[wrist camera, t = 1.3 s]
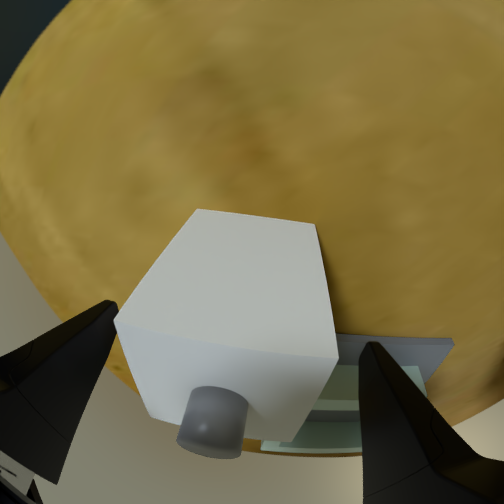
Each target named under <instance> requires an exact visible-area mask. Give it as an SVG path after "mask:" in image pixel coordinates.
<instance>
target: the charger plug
mask: <svg viewBox="0 0 504 504" xmlns="http://www.w3.org/2000/svg"><path fill="white" fill-rule="evenodd" d="M114 324H115V327H116V330H117V333H118V336H119V339H120V342H121V345H122V348H123V351H124V354H125V357H126V359H127V362H128V365H129V368H130V370H131V373H132V375H133V378H134V380H135V383H136V385H137V388H138V390H139V392H140V395H141V397H142V399H143V402H144V404H145V406H146V408H147V410H148V413H149V415H150V416H151V417H152V418H155V419H159V420H162V421H166V422H170V423H174V424H177V425H181V426H180V429H179V433H178V436H177V440H176V441H177V443H178V444H179V445H180V446H181V447H183V448H184V449H186V450H188V451H190V452H193V453H195V454H198V455H202V456H206V457H210V458H218V459H233V458H237V457H239V456H240V455H241V450H242V444H243V438H250V439H258V440H268V441H279V442H292V440H293V439H294V437H295V435H296V434H297V432H298V431H299V429H300V428H301V426H302V424H303V423H304V421H305V419H306V418H307V416H308V414H309V413H310V411H311V409H312V408H313V406H314V404H315V402H316V401H317V399H318V397H319V395H320V394H321V392H322V390H323V388H324V386H325V384H326V383H327V381H328V379H329V377H330V375H331V373H332V371H333V369H334V367H335V365H336V363H337V361H338V359H339V356H338V348H337V341H336V335H335V328H334V322H333V315H332V309H331V304H330V298H329V292H328V287H327V281H326V276H325V271H324V266H323V261H322V256H321V251H320V246H319V242H318V237H317V232H316V228H315V224H309V223H302V222H296V221H289V220H282V219H275V218H267V217H260V216H253V215H245V214H237V213H229V212H221V211H212V210H204V209H196V211H195V212H194V213H193V214H192V216H191V217H190V218H189V219H188V220H187V222H186V223H185V224H184V225H183V227H182V228H181V229H180V230H179V232H178V233H177V234H176V235H175V237H174V238H173V239H172V241H171V242H170V243H169V244H168V246H167V247H166V248H165V250H164V251H163V252H162V253H161V255H160V256H159V257H158V259H157V260H156V261H155V263H154V264H153V265H152V267H151V268H150V269H149V271H148V272H147V273H146V275H145V276H144V277H143V279H142V280H141V282H140V283H139V284H138V286H137V287H136V288H135V290H134V291H133V293H132V294H131V295H130V297H129V298H128V300H127V301H126V303H125V304H124V305H123V307H122V308H121V310H120V311H119V313H118V314H117V316H116V317H115V318H114Z"/></svg>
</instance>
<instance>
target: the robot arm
mask: <svg viewBox="0 0 504 504" xmlns="http://www.w3.org/2000/svg"><path fill="white" fill-rule="evenodd" d="M118 313H119V310H118V306H117V304H116V302H114V301H110V300H104V301H102V302H100V303H99V304H97V305H95V306H93V307H91V308H89V309H88V310H86V311H84V312H82V313H80V314H78V315H77V316H75V317H73V318H71V319H69V320H68V321H66V322H64V323H62V324H60V325H59V326H57V327H55V328H53V329H51V330H50V331H48V332H46V333H44V334H43V335H41V336H39V337H37V338H36V339H34V340H32V341H30V342H28V343H27V344H25V345H23V346H21V347H20V348H18V349H16V350H14V351H12V352H10V353H8V354H6V355H4V356H1V357H0V504H43V502H42V500H41V497H40V495H39V492H38V489H37V487H36V484H35V481H34V479H33V477H34V475H35V474H37V475H39V476H41V477H42V478H44V479H46V480H48V481H50V482H52V483H53V484H56V485H57V483H58V481H59V477H60V474H61V472H62V468H63V465H64V462H65V460H66V457H67V454H68V451H69V448H70V445H71V442H72V440H73V437H74V434H75V432H76V429H77V427H78V424H79V422H80V419H81V417H82V414H83V412H84V410H85V407H86V405H87V402H88V400H89V398H90V395H91V393H92V391H93V389H94V386H95V384H96V382H97V380H98V377H99V375H100V373H101V371H102V369H103V367H104V365H105V362H106V360H107V358H108V356H109V353H110V350H111V347H112V345H113V342H114V339H115V336H116V334H117V330H116V327H115V324H114V318H115V317H116V316H117V314H118ZM358 400H359V412H360V424H361V439H362V458H363V504H504V461H499V460H494V459H489V458H485V457H483V456H481V455H479V454H478V453H476V452H475V451H474V450H473V449H472V448H471V447H470V446H469V445H468V444H467V443H466V442H465V441H464V440H463V439H462V438H461V437H460V436H459V435H458V434H457V433H456V432H455V430H454V429H453V428H452V427H451V426H450V425H449V424H448V423H447V422H446V421H445V419H444V418H443V417H442V416H441V415H440V413H439V412H438V411H437V410H436V408H434V406H433V405H432V404H431V402H430V401H429V400H428V399H427V398H426V396H425V395H424V394H423V393H422V391H421V390H420V389H419V388H418V387H417V385H416V384H415V383H414V382H413V381H412V380H411V378H410V377H409V376H408V375H407V374H406V372H405V371H404V370H403V369H402V368H401V367H400V365H399V364H398V363H397V362H396V361H395V360H394V358H393V357H392V356H391V355H390V354H389V353H388V351H387V350H386V349H385V348H384V347H383V346H382V345H381V343H379V342H377V341H368V342H367V343H366V345H365V347H364V349H363V350H362V352H361V354H360V356H359V360H358Z"/></svg>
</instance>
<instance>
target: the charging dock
mask: <svg viewBox="0 0 504 504" xmlns="http://www.w3.org/2000/svg"><path fill="white" fill-rule="evenodd" d="M335 335H336V341H337V348H338V356H339V359H338V361H337V363H336V365H335V367H334V369H333V371H332V373H331V375H330V377H329V379H328V381H327V383H326V384H325V386H324V388H323V390H322V392H321V394H320V395H319V397H318V399H317V401H316V402H315V404H314V406H313V408H312V409H311V411H310V413H309V414H308V416H307V418H306V419H305V421H304V423H303V424H302V426H301V428H300V429H299V431H298V432H297V434H296V435H295V437H294V439H293V440H292V442H279V441H268V440H261V449H260V450H265V451H277V452H292V453H350V452H362V439H361V424H360V412H359V400H358V360H359V356H360V354H361V352H362V350H363V349H364V347H365V345H366V343H367V342H368V341H377V342H379V343H381V345H382V346H383V347H384V348H385V349H386V350H387V351H388V353H389V354H390V355H391V356H392V357H393V358H394V360H395V361H396V362H397V363H398V364H399V365H400V367H401V368H402V369H403V370H404V371H405V372H406V374H407V375H408V376H409V377H410V378H411V380H412V381H413V382H414V383H415V384H416V385H417V387H418V388H419V389H420V390H421V391H422V393H423V394H424V395H425V396H426V398H427V392H426V389H425V386H424V384H425V383H426V382H427V380H428V379H429V378H430V377H431V375H432V374H433V373H434V372H435V370H436V369H437V368H438V367H439V365H440V364H441V363H442V361H443V360H444V359H445V357H446V356H447V355H448V353H449V352H450V350H451V349H452V348H453V346H454V343H453V340H452V338H403V337H381V336H364V335H350V334H338V333H335Z"/></svg>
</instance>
